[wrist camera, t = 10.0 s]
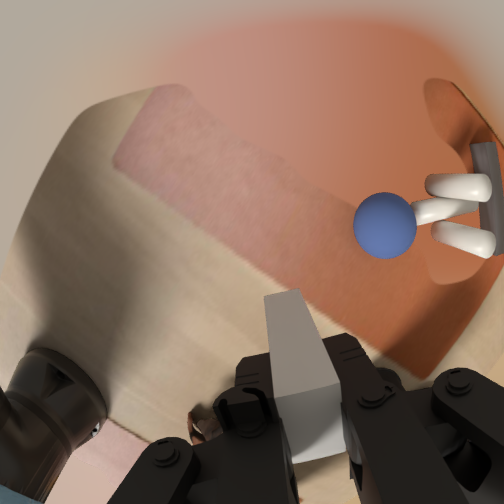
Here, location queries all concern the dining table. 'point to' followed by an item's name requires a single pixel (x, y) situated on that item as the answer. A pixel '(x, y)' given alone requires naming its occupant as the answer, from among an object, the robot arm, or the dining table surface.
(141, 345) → the dining table surface
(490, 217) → the back wall
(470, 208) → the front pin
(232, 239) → the dining table surface
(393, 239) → the ball
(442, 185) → the pin
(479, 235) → the pin
